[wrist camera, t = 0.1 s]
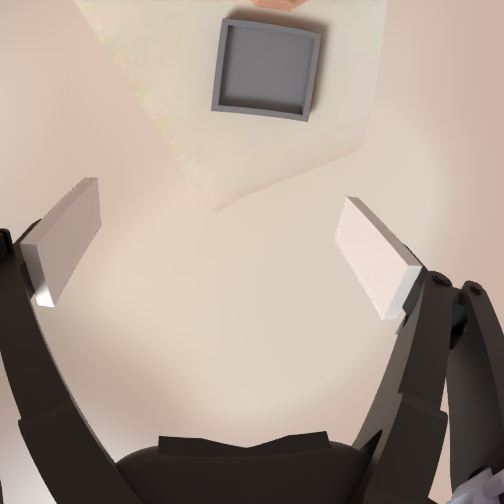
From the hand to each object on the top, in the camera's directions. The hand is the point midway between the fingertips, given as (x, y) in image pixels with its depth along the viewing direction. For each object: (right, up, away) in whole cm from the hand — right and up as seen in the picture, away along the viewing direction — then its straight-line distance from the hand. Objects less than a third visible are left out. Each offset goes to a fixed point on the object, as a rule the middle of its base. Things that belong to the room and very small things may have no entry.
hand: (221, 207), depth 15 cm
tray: (+3, +22, +20) cm, 30 cm away
